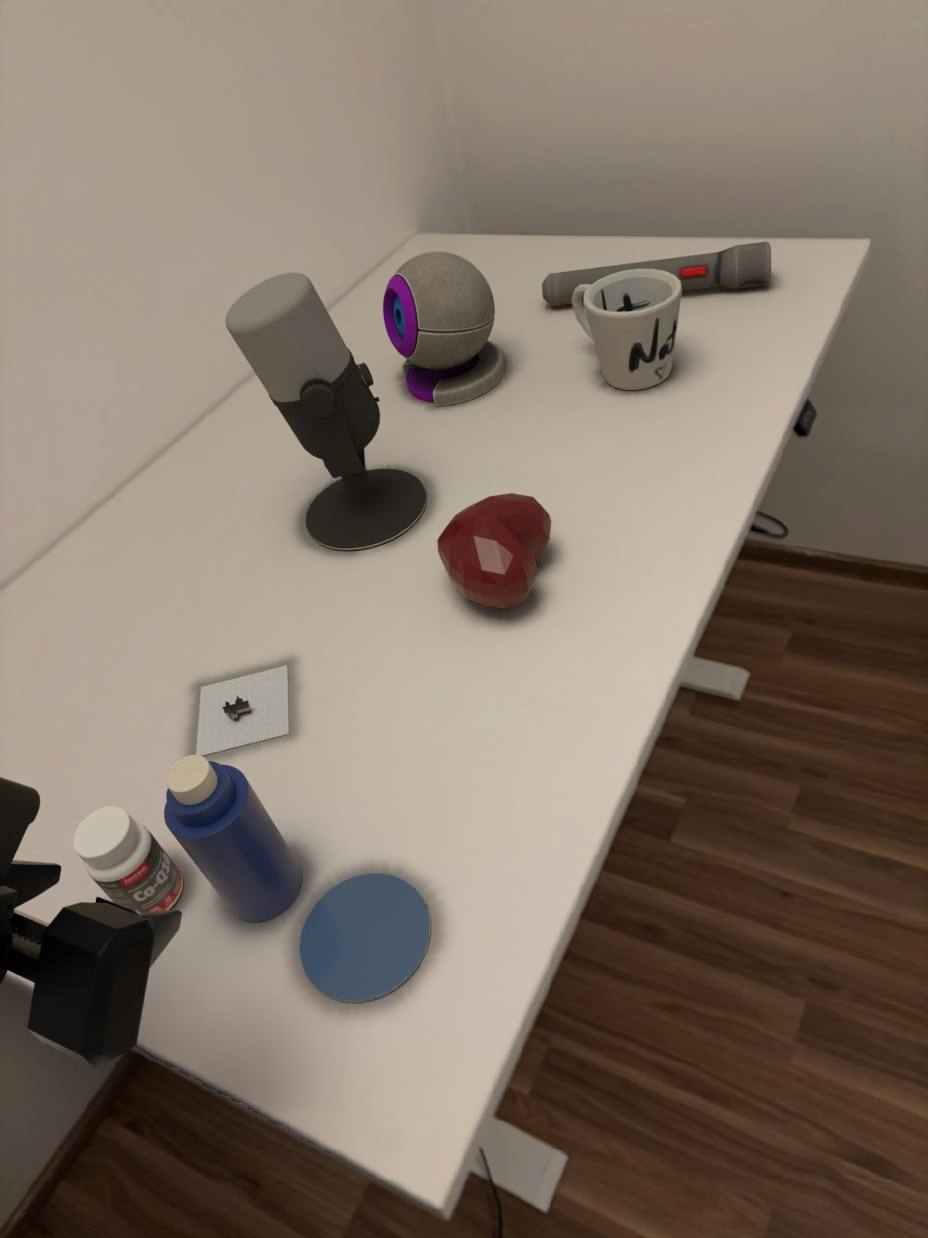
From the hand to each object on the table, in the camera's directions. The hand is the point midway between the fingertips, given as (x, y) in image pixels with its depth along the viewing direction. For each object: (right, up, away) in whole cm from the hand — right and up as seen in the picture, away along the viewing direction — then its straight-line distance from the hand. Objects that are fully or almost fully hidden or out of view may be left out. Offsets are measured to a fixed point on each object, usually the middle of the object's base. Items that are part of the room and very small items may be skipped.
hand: (116, 895), depth 52 cm
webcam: (+19, +45, +60) cm, 77 cm away
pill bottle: (-3, -5, +16) cm, 17 cm away
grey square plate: (+1, +8, +27) cm, 28 cm away
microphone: (+10, +27, +44) cm, 52 cm away
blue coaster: (+13, -6, +10) cm, 17 cm away
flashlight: (+44, +57, +65) cm, 97 cm away
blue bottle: (+5, -4, +14) cm, 15 cm away
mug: (+38, +45, +54) cm, 80 cm away
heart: (+23, +19, +32) cm, 44 cm away
